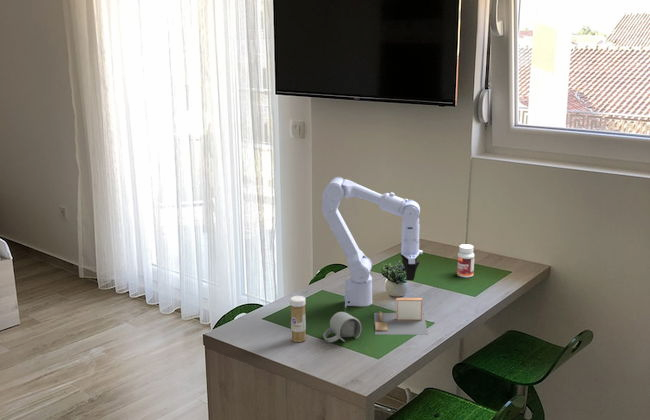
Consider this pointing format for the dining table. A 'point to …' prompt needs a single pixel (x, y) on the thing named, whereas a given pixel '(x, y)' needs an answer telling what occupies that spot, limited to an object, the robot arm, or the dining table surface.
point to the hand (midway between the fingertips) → (409, 277)
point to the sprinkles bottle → (298, 318)
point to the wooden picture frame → (408, 308)
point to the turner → (380, 323)
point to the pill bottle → (465, 261)
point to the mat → (401, 325)
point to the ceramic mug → (343, 327)
